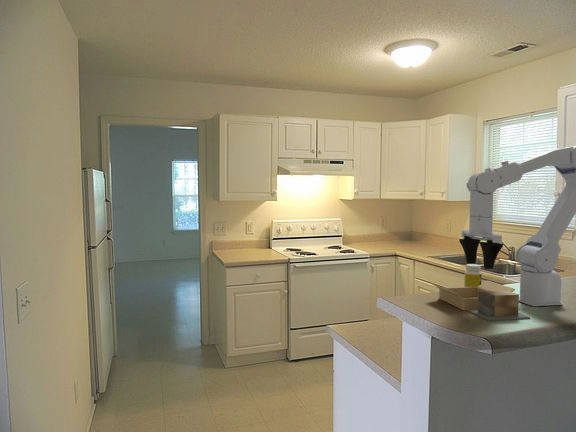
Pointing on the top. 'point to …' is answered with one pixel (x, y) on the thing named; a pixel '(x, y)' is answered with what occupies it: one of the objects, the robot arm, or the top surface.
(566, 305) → the top surface
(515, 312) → the box
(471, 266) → the supplement bottle
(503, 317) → the mat
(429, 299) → the top surface
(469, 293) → the carton
